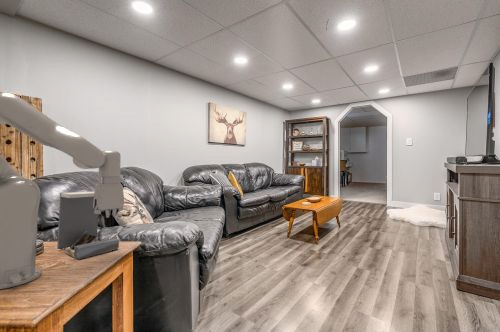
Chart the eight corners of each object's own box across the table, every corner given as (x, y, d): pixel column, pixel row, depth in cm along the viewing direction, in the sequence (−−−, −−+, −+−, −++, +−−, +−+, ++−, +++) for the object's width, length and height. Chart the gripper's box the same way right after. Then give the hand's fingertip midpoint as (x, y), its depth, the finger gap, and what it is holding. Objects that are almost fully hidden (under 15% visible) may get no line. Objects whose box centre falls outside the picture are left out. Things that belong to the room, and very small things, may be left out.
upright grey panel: (106, 245, 105) (108, 192, 106) (66, 254, 92) (69, 194, 93) (95, 241, 110) (97, 191, 111) (57, 249, 97) (60, 193, 98)
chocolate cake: (84, 255, 93) (101, 230, 102) (66, 250, 92) (85, 225, 101) (88, 264, 99) (104, 239, 108) (71, 260, 98) (88, 236, 107)
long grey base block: (118, 248, 99) (118, 239, 99) (78, 259, 86) (78, 248, 86) (104, 243, 106) (104, 234, 106) (65, 252, 93) (65, 242, 93)
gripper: (123, 180, 100) (122, 222, 99) (84, 182, 87) (83, 229, 87) (132, 180, 96) (132, 224, 95) (93, 182, 83) (92, 232, 83)
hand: (109, 226), depth 91 cm, fingers closed
